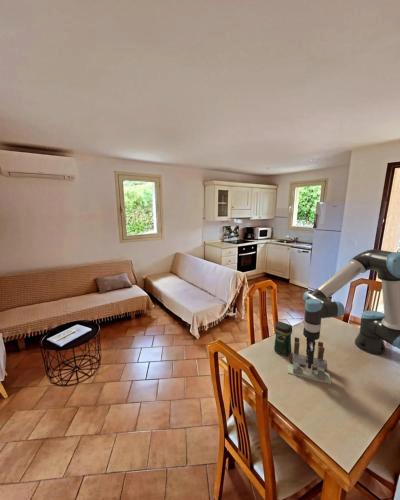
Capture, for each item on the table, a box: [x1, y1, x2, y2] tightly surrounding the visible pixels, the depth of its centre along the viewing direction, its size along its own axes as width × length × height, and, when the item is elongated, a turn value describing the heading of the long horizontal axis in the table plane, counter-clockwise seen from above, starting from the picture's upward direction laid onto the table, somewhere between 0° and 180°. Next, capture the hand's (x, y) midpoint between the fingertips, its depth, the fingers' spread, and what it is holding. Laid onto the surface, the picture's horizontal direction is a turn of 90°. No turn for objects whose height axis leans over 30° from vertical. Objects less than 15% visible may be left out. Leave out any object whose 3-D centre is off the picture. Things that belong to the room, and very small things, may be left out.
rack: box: [289, 336, 327, 372], centre depth 122 cm, size 18×6×13 cm, turn 68°
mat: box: [287, 362, 332, 385], centre depth 116 cm, size 20×7×3 cm, turn 68°
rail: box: [292, 352, 328, 371], centre depth 115 cm, size 16×3×3 cm, turn 68°
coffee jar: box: [273, 320, 293, 357], centre depth 133 cm, size 10×8×19 cm
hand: (308, 370), depth 116 cm, fingers closed on rail, 3 cm apart
